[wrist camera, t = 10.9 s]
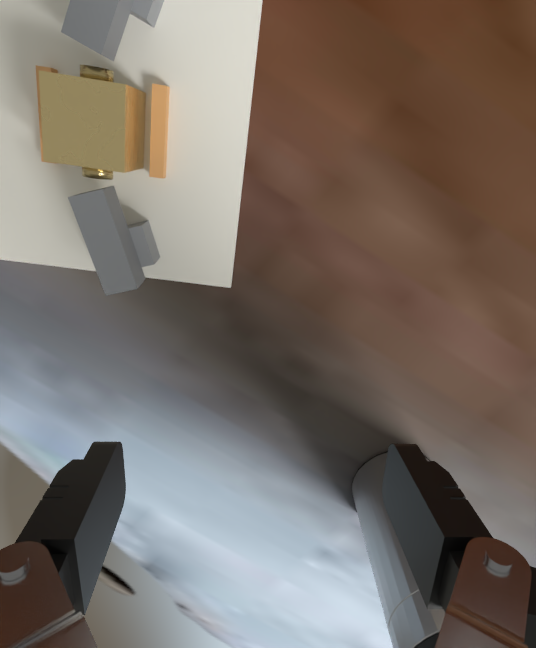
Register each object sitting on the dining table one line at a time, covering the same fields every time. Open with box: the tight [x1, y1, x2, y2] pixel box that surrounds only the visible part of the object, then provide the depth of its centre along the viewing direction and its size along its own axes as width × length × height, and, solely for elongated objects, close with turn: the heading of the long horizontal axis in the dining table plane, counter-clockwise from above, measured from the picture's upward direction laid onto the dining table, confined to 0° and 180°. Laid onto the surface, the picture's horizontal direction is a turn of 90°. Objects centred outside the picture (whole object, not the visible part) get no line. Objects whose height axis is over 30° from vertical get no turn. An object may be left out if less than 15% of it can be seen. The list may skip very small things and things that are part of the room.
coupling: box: [39, 65, 146, 180], centre depth 29 cm, size 7×5×5 cm
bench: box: [0, 0, 263, 296], centre depth 29 cm, size 22×20×6 cm
